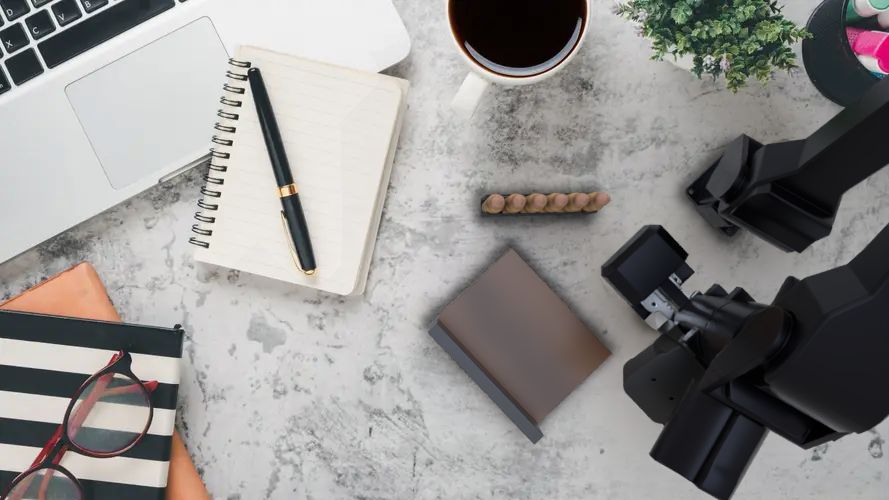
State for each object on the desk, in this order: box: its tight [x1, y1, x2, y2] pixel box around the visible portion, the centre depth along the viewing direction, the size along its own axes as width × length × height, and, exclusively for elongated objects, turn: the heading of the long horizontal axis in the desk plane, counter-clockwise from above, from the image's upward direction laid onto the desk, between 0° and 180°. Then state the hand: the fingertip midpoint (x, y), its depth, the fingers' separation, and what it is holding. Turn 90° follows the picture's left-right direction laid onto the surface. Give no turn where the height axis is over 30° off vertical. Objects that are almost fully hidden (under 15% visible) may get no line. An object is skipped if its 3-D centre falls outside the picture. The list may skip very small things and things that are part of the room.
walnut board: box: [427, 247, 613, 445], centre depth 62 cm, size 11×14×6 cm
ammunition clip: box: [480, 191, 611, 218], centre depth 59 cm, size 11×2×12 cm, turn 91°
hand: (669, 316), depth 63 cm, fingers closed on milkshake, 5 cm apart
